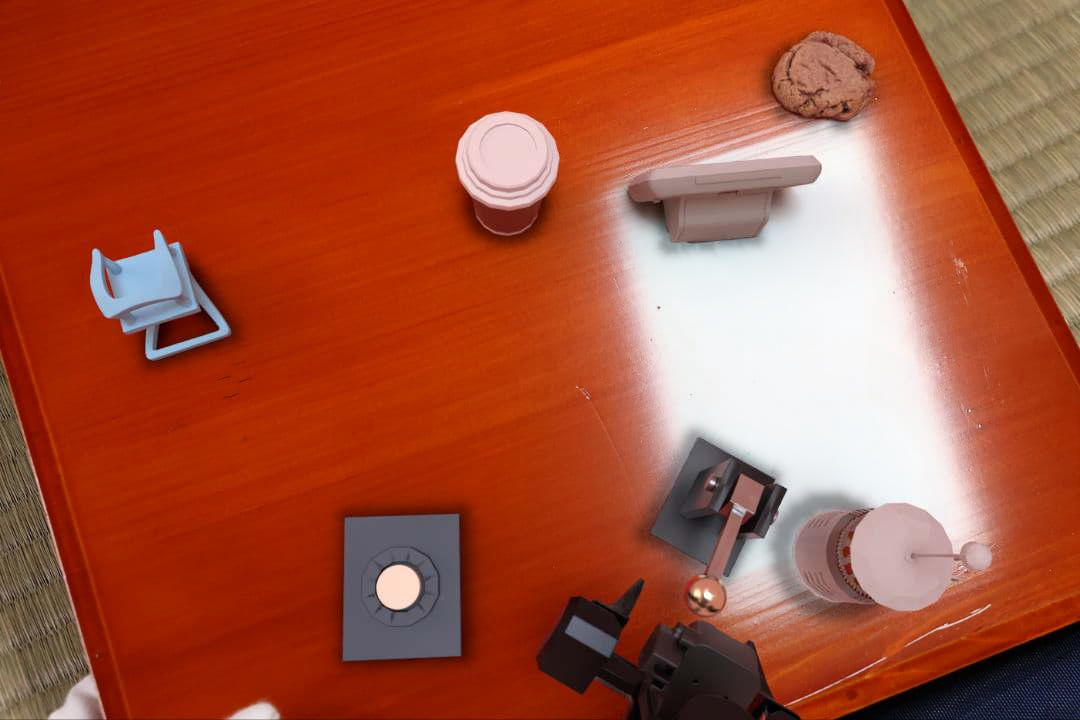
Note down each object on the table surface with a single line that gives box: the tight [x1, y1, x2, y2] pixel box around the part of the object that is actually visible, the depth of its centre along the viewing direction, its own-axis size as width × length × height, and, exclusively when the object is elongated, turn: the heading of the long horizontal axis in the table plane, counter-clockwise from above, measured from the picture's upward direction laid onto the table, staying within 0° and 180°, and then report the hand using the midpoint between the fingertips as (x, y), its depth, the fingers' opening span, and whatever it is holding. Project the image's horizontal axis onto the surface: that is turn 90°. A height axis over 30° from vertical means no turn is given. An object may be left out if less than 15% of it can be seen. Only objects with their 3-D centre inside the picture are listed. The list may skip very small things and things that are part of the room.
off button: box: [376, 565, 422, 610], centre depth 73 cm, size 4×4×2 cm
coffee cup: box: [454, 110, 561, 237], centre depth 80 cm, size 9×9×12 cm
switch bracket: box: [648, 436, 788, 578], centre depth 74 cm, size 10×8×12 cm
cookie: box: [770, 30, 876, 121], centre depth 88 cm, size 10×11×3 cm
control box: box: [342, 513, 463, 662], centre depth 75 cm, size 12×10×4 cm
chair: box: [89, 229, 232, 362], centre depth 76 cm, size 8×8×12 cm
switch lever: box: [683, 474, 764, 619], centre depth 67 cm, size 12×3×3 cm, turn 151°
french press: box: [791, 502, 994, 612], centre depth 67 cm, size 10×12×25 cm
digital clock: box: [627, 154, 823, 244], centre depth 81 cm, size 16×9×11 cm, turn 85°
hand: (693, 612), depth 65 cm, fingers open, 9 cm apart
